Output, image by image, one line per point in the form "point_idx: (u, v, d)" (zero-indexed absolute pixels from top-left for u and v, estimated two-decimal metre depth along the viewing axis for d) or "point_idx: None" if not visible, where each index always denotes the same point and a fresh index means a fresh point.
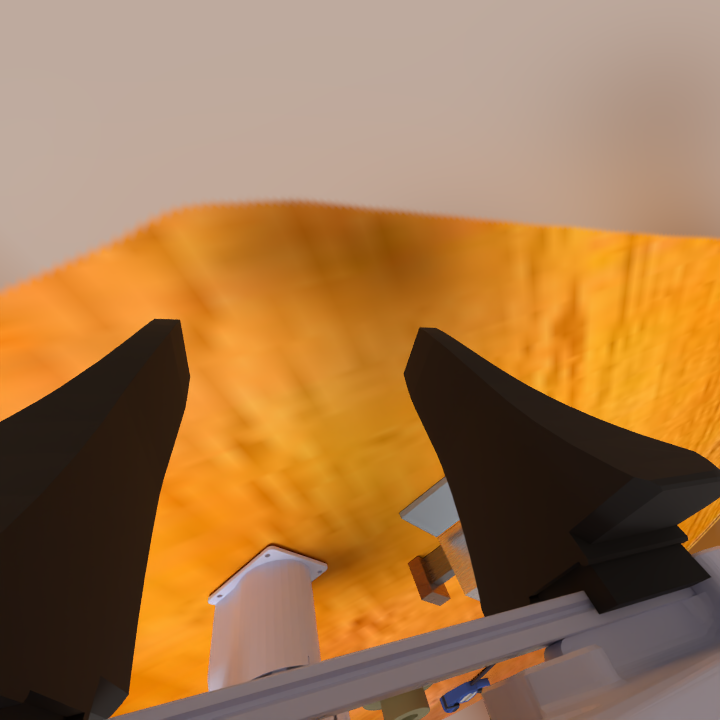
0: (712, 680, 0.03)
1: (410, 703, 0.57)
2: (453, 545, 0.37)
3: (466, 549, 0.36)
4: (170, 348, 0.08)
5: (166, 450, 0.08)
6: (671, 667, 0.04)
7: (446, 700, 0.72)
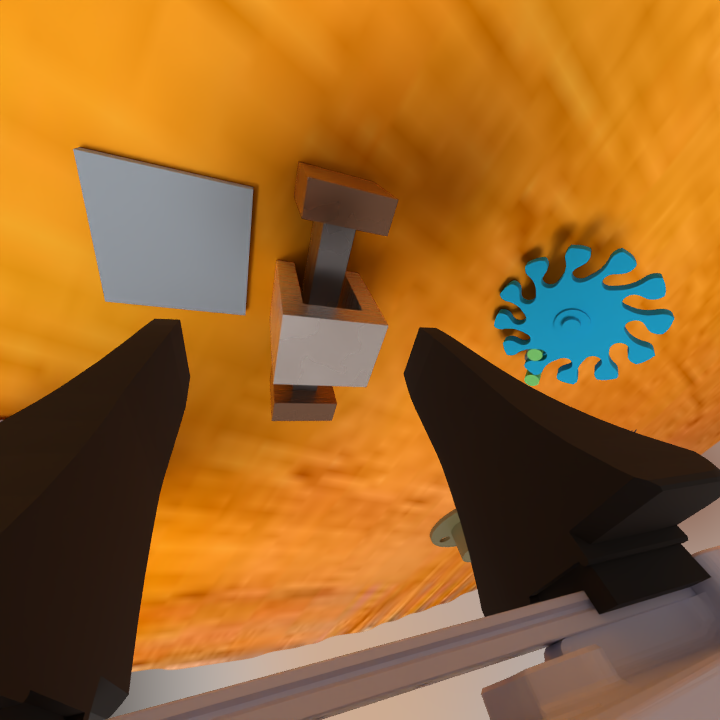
0: (712, 680, 0.03)
1: None
2: (272, 314, 0.19)
3: (275, 308, 0.17)
4: (170, 348, 0.08)
5: (166, 450, 0.08)
6: (671, 667, 0.04)
7: None
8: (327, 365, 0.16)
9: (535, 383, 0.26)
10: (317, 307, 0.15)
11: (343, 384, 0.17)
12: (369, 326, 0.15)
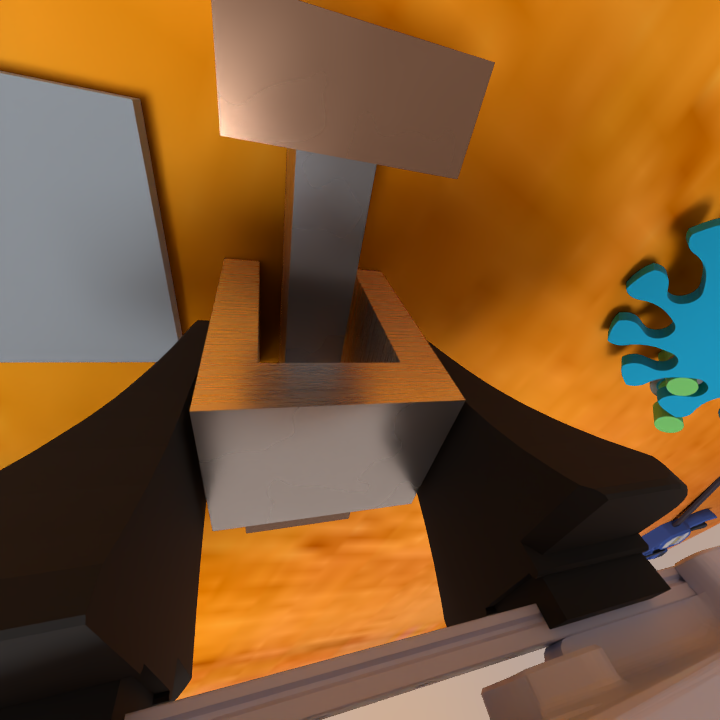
0: (712, 680, 0.03)
1: None
2: None
3: None
4: None
5: None
6: (671, 667, 0.04)
7: None
8: (327, 486, 0.07)
9: (675, 429, 0.16)
10: (292, 369, 0.06)
11: (364, 508, 0.08)
12: (420, 406, 0.06)
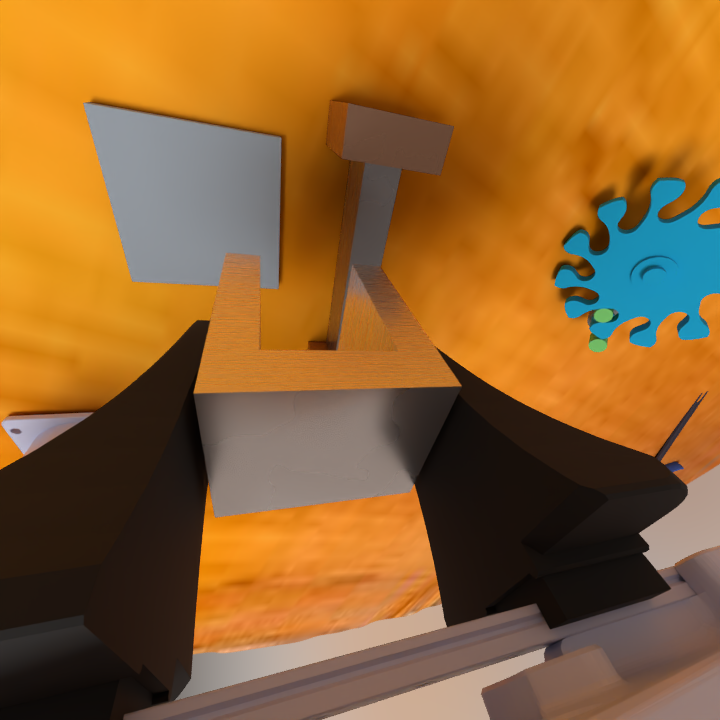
0: (712, 680, 0.03)
1: None
2: None
3: None
4: None
5: None
6: (671, 667, 0.04)
7: None
8: (327, 472, 0.08)
9: (602, 349, 0.23)
10: (293, 356, 0.06)
11: (363, 496, 0.09)
12: (418, 392, 0.07)
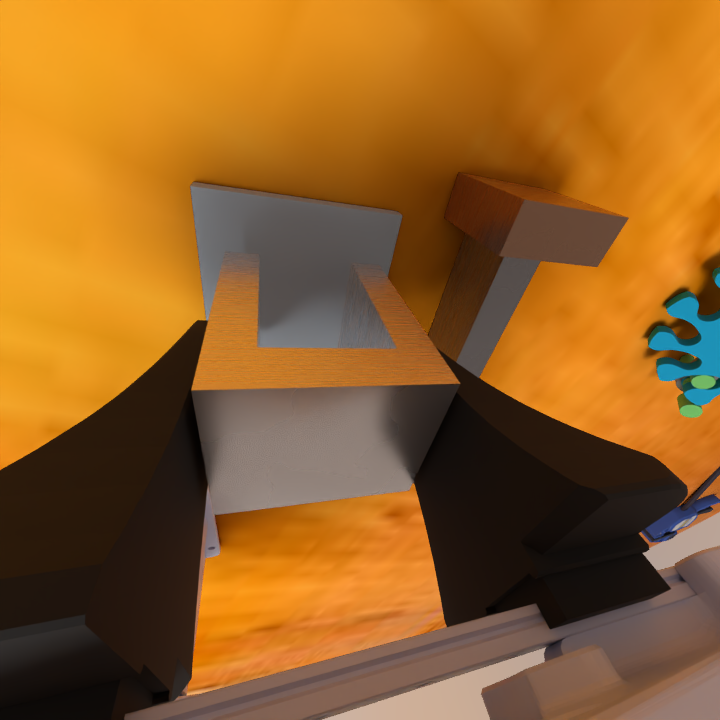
0: (711, 680, 0.03)
1: None
2: None
3: None
4: None
5: None
6: (670, 667, 0.04)
7: (649, 532, 0.53)
8: (326, 470, 0.08)
9: (695, 415, 0.21)
10: (291, 353, 0.06)
11: (362, 494, 0.09)
12: (416, 389, 0.07)
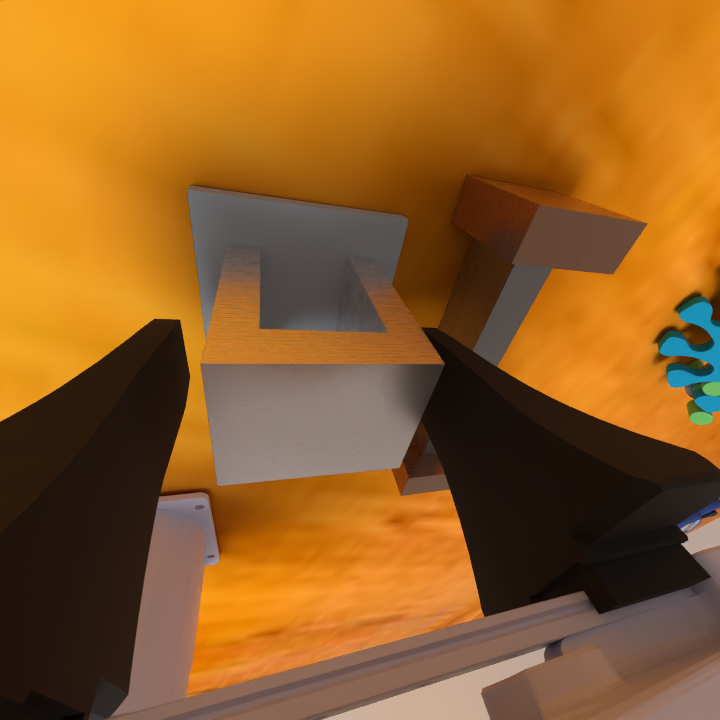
0: (712, 680, 0.03)
1: None
2: None
3: None
4: (170, 348, 0.08)
5: (166, 450, 0.08)
6: (671, 667, 0.04)
7: None
8: (322, 445, 0.08)
9: (706, 422, 0.20)
10: (290, 334, 0.07)
11: (355, 470, 0.09)
12: (404, 368, 0.07)
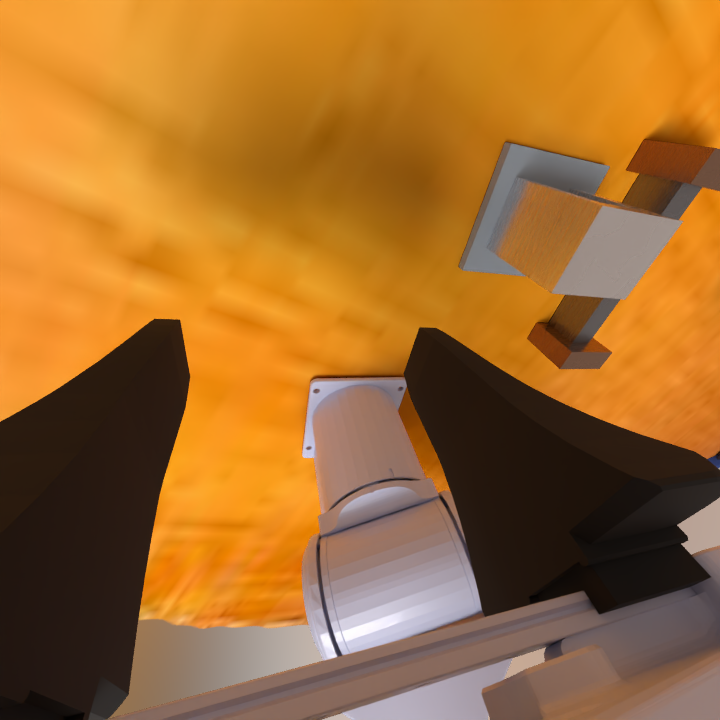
0: (712, 680, 0.03)
1: None
2: (510, 235, 0.18)
3: (532, 221, 0.17)
4: (170, 348, 0.08)
5: (166, 450, 0.08)
6: (671, 667, 0.04)
7: None
8: (606, 271, 0.16)
9: None
10: (612, 205, 0.15)
11: (607, 296, 0.17)
12: (665, 222, 0.15)
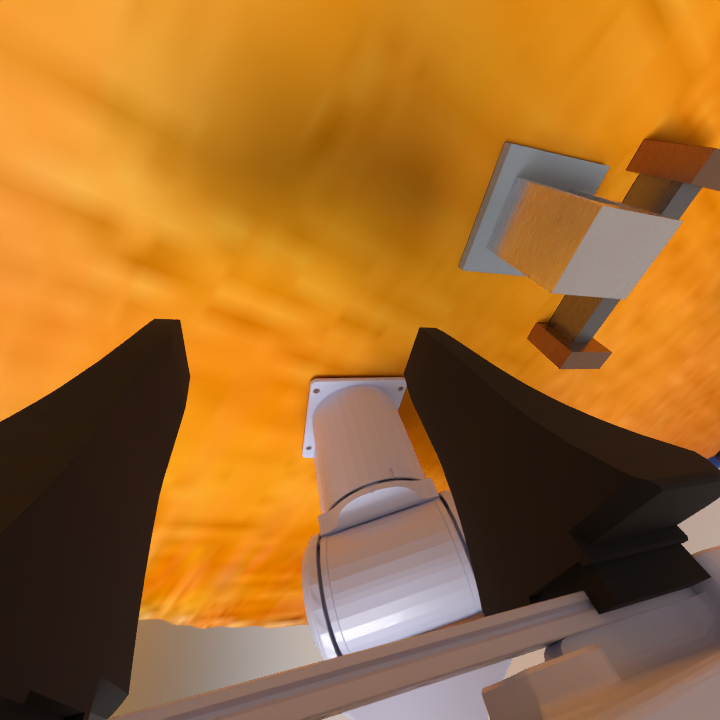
0: (712, 680, 0.03)
1: None
2: (510, 235, 0.18)
3: (532, 221, 0.17)
4: (170, 348, 0.08)
5: (166, 450, 0.08)
6: (671, 667, 0.04)
7: None
8: (606, 271, 0.16)
9: None
10: (612, 205, 0.15)
11: (607, 296, 0.17)
12: (665, 222, 0.15)
